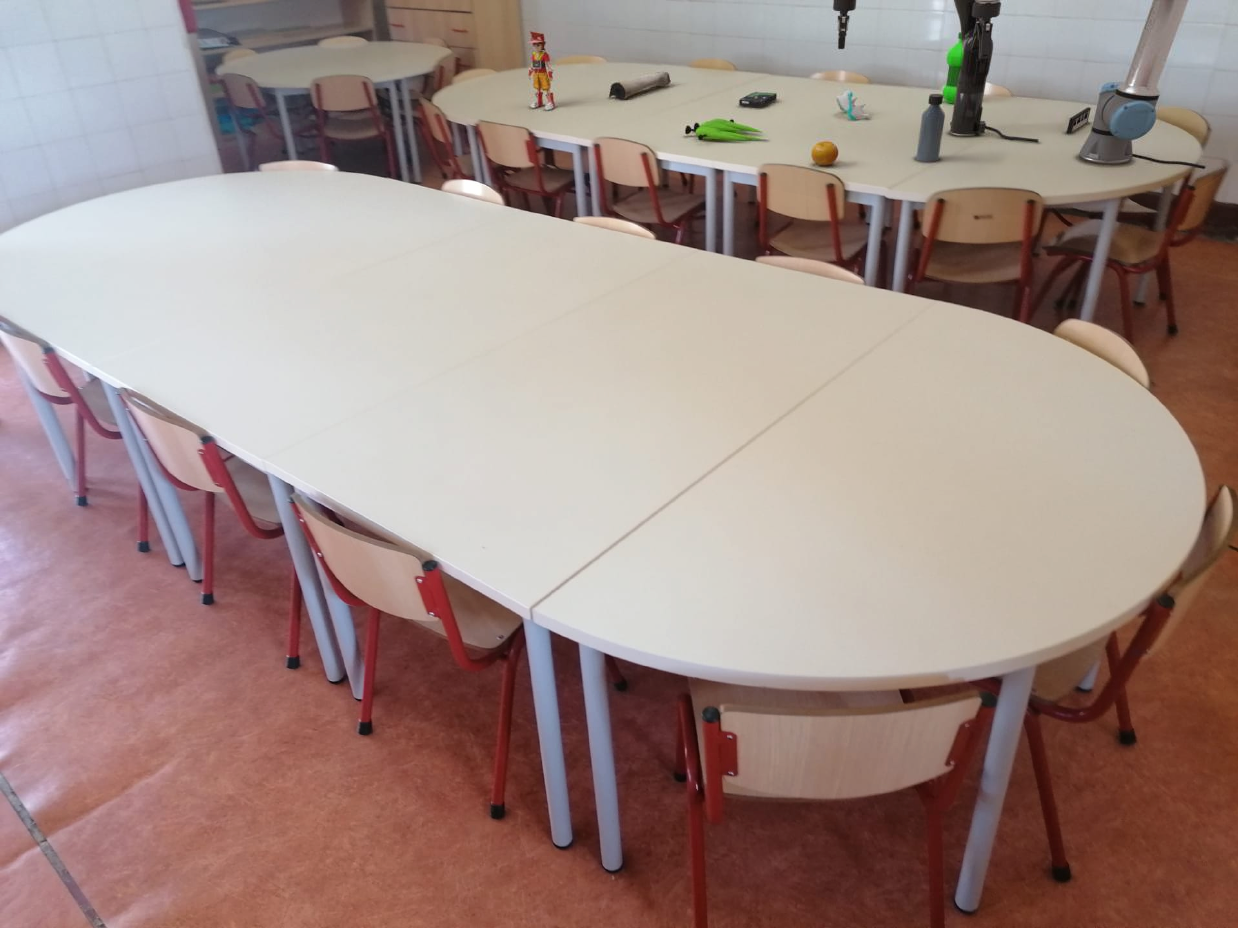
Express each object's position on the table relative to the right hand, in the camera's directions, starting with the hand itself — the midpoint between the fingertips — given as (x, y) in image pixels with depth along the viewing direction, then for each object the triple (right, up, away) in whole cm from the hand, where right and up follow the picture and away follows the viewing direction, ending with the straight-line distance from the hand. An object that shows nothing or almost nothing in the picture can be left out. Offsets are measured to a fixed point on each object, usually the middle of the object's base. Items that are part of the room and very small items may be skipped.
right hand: (975, 80), depth 270 cm
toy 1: (-140, +37, +113) cm, 184 cm away
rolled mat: (-98, +49, +127) cm, 168 cm away
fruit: (-39, -16, +28) cm, 51 cm away
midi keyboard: (+55, +3, +47) cm, 72 cm away
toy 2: (-67, +5, +61) cm, 91 cm away
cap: (-6, +2, +16) cm, 17 cm away
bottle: (-5, -15, +27) cm, 31 cm away
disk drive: (-50, +33, +99) cm, 116 cm away
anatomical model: (-18, +19, +76) cm, 81 cm away
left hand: (-30, +29, +41) cm, 59 cm away
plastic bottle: (+25, +28, +85) cm, 93 cm away
